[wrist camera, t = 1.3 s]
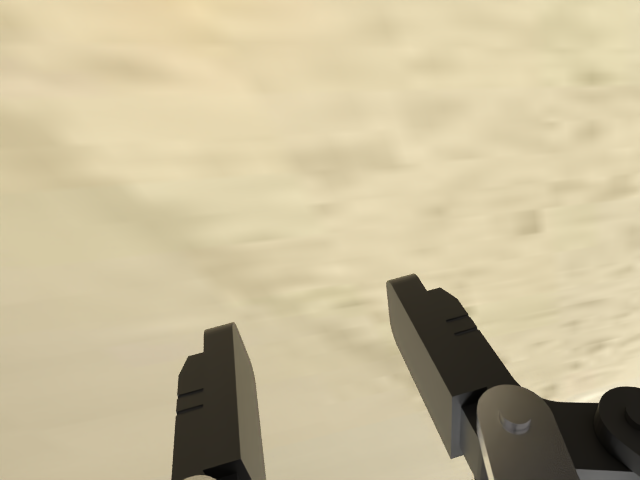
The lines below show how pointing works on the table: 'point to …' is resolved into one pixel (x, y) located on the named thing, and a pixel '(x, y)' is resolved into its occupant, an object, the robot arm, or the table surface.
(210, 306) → the table surface
